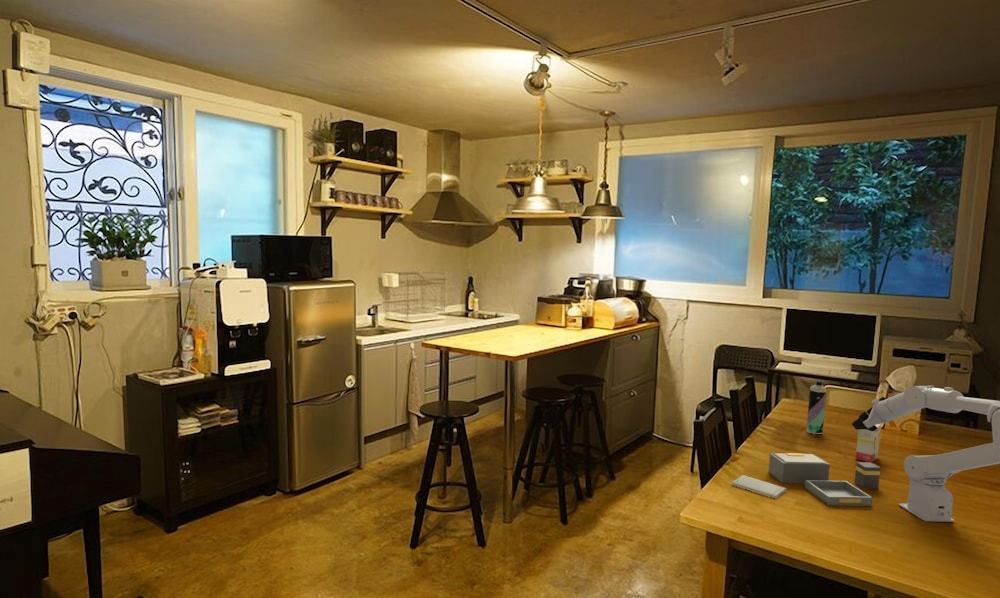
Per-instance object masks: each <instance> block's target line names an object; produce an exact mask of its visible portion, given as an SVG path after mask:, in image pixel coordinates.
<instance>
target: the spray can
mask: <svg viewBox="0 0 1000 598" xmlns="http://www.w3.org/2000/svg"><path fill="white" fill-rule="evenodd" d="M826 397H827V388H826V387H825V386H823V384H822V382H821V381H819V380H816V382H815V383H814V385H811V386H810V387H809V396H808V408H807V420H806V433H808V434H810V433H812V434H811V435H815V434H822V435H823V433H824V432H823V431H824V421H825V409H826V401H827V400H826V399H827V398H826Z"/></svg>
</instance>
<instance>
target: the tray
mask: <svg viewBox="0 0 1000 598" xmlns="http://www.w3.org/2000/svg"><path fill="white" fill-rule="evenodd" d="M804 489H805V490H807V491H808V492H809V493H810V494H812V495H813V496H815V497H816V498H818V499H819V500H820V501H821V502H822V503H824V504H825V505H827V506H848V507H849V506H852V507H854V506H855V507H873V497H872V496H871V495H870V494H868V493H866V492H864V491H863V490H861V489H860V488H858V487H857V486H856V485H854V484H852V483H850V482H849V481H847V480H829V479H828V480H805V483H804Z"/></svg>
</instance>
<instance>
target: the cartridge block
mask: <svg viewBox="0 0 1000 598" xmlns="http://www.w3.org/2000/svg"><path fill="white" fill-rule="evenodd" d="M855 463H856V465H855V474H854V475H855V476H854V484H855V483H856V484H855V485H857V486H858V485H859V486H858V487H859V488H861V487H862V488H861V489H863V488H866V489H865V490H868V489H867V488H871V489H870V490H879V487H880V486H879V485H880V476H881V467H880V466H879V465H877V464H875V463H873V462H872V463H871V462H865V461H861V462H860V461H856V462H855ZM874 488H875V489H874Z"/></svg>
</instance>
